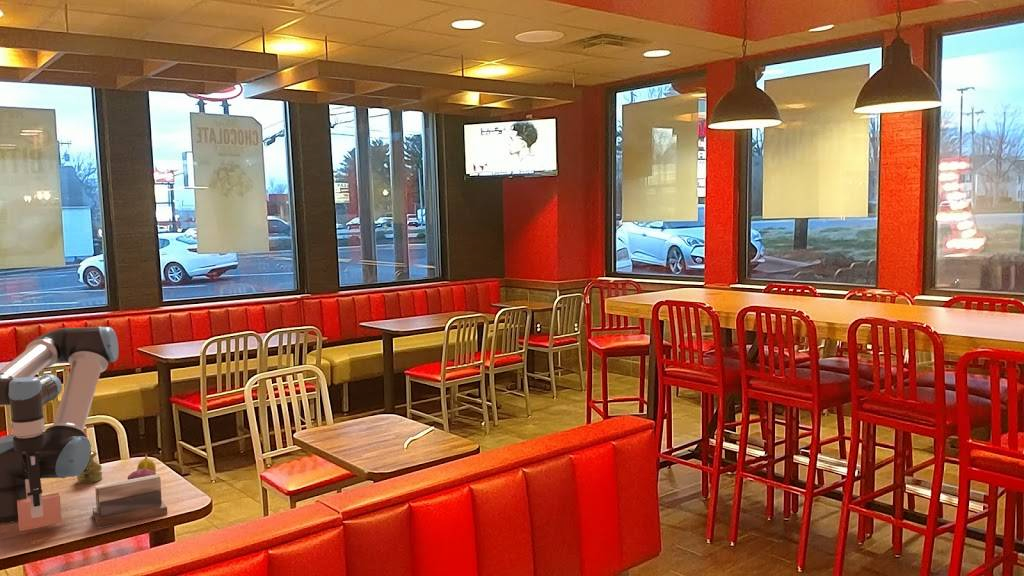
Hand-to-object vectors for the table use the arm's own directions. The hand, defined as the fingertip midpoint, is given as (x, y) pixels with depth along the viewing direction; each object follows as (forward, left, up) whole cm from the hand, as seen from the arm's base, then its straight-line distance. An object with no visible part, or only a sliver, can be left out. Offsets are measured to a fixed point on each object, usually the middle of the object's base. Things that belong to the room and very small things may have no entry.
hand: (34, 508), depth 223 cm
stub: (0, +1, -5) cm, 5 cm away
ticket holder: (0, +24, -7) cm, 25 cm away
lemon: (-27, +34, -7) cm, 44 cm away
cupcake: (-18, +31, -7) cm, 36 cm away
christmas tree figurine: (-40, +19, -7) cm, 44 cm away
